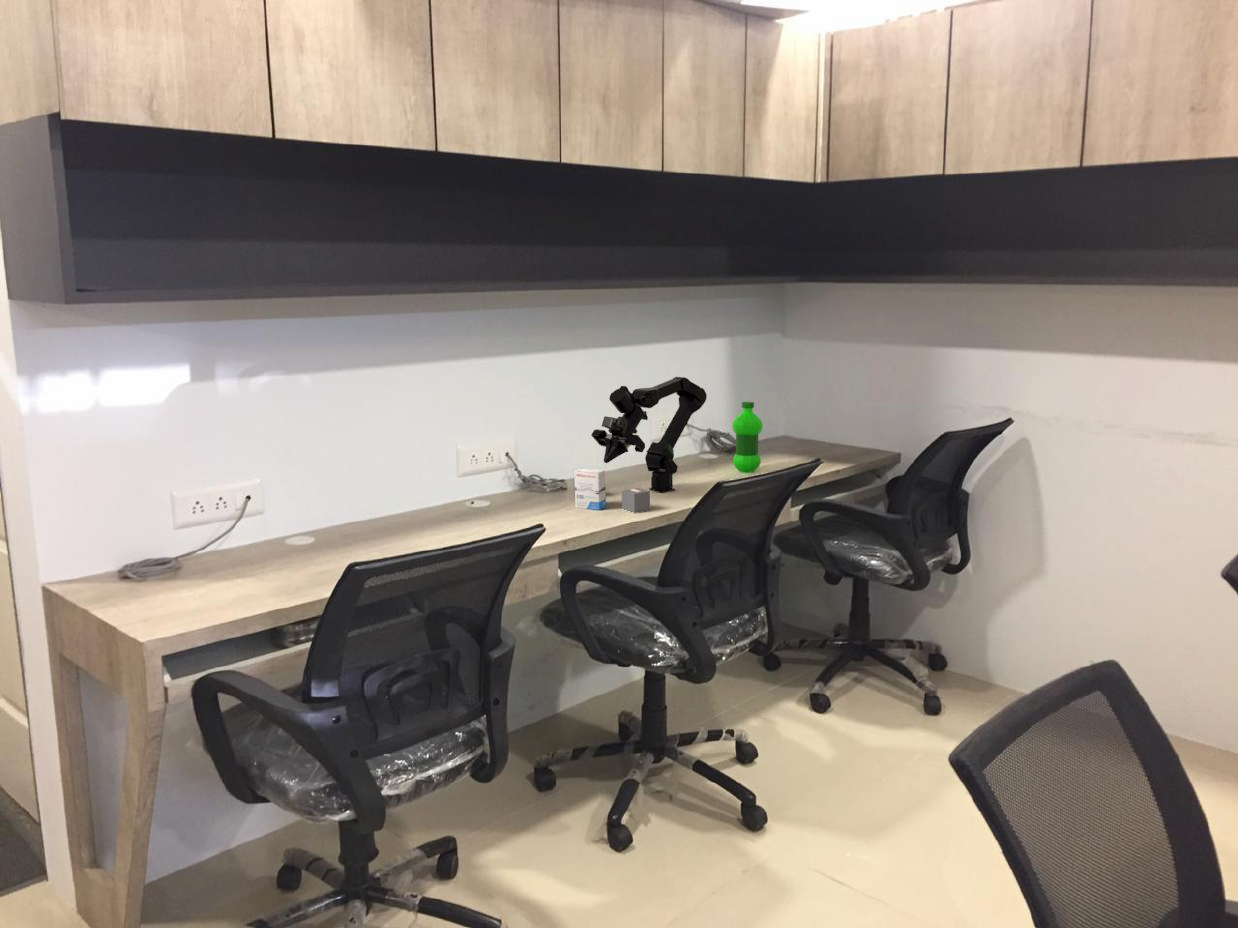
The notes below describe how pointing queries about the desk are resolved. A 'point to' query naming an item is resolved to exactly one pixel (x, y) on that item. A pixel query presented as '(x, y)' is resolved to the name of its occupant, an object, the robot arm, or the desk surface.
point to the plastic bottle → (747, 439)
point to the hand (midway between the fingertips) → (605, 462)
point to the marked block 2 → (636, 500)
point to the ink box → (590, 489)
